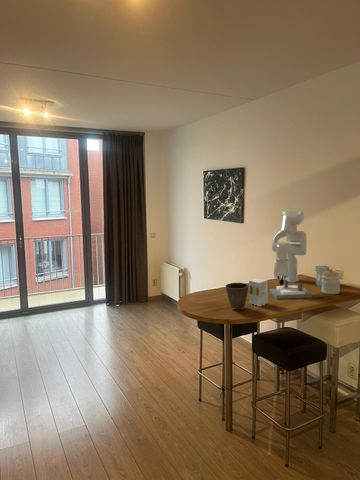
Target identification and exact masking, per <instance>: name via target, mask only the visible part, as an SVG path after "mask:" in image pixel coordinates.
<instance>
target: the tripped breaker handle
mask: <svg viewBox="0 0 360 480" xmlns="http://www.w3.org/2000/svg"><path fill="white" fill-rule="evenodd" d="M283 286H284V287H288V286H289V282H288V281H287V280H284V284H283Z"/></svg>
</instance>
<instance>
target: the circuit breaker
mask: <svg viewBox="0 0 360 480" xmlns="http://www.w3.org/2000/svg"><path fill="white" fill-rule="evenodd" d="M329 269H330V267H329V266H327V265H315V272H316V278H315V279H314V280H315V281H314V282H315V285H317V286H318V287H322V281H321V280H322V277H321V276H322V275H323V272H325V271H329Z"/></svg>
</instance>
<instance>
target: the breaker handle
mask: <svg viewBox="0 0 360 480" xmlns="http://www.w3.org/2000/svg"><path fill="white" fill-rule="evenodd" d="M297 286H298V290H300V291H302V287H303V283H302V282H299V281H298V282H297Z"/></svg>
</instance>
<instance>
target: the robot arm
mask: <svg viewBox="0 0 360 480" xmlns="http://www.w3.org/2000/svg"><path fill="white" fill-rule="evenodd" d="M281 217H282V218H281V224H280V230H279V231H278V232H277V233H276V234H275V236H274V237H273V239H272V244H271V250H272V252H274V253H275V260H276V261H275V262H274V265H273V266H274V267H273V268H274V269H273V274H274V275H273V276H274V278H275V279H278V284H279V286H284V280H287V281H288V283H296V282H297V283H298V282H299V281H300V279H299V278H298V259H297V257H296V256H305V255H306V254H307V234H306V231H303V230H298V225H301V224H302V222H303V221H304V219H305V213H304V211H302V210H286V211H283V212H282V213H281ZM283 238H286V241H287V242H279V240H281V239H283Z"/></svg>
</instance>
